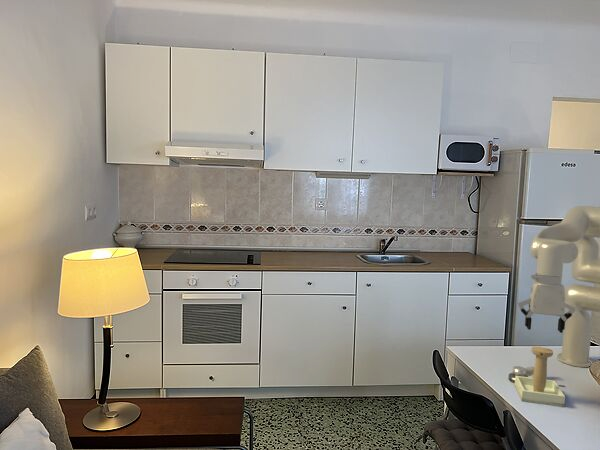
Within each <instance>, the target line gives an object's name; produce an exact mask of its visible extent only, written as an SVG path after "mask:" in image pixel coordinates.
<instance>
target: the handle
mask: <svg viewBox="0 0 600 450" xmlns="http://www.w3.org/2000/svg"><path fill="white" fill-rule="evenodd" d="M530 351H531V353H532V354H533V355H535V363H534V367H535V368H534V375H532V378H533V387H534V388H533V390H534V392H542V393H544V389H545V386H546V380H548V379H547V375H548V374H547V372H548V367H547V366H548V358H551V357H553V355H554V351H553V350H552V349H551V348H547V347H541V346H531V350H530Z"/></svg>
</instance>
